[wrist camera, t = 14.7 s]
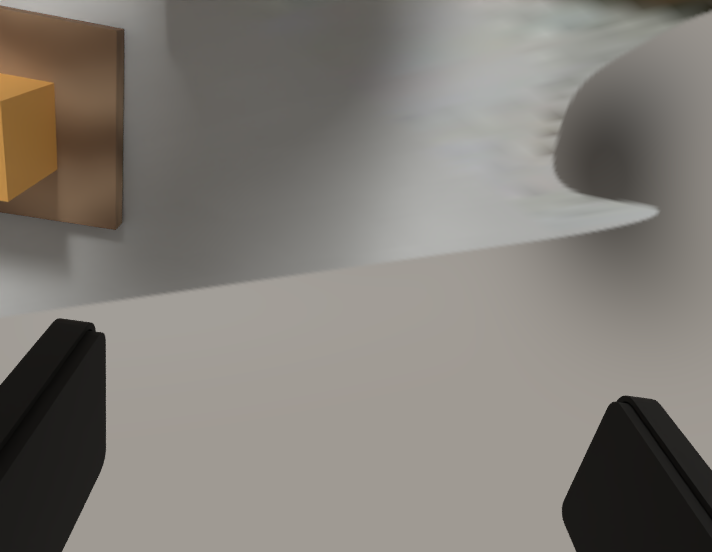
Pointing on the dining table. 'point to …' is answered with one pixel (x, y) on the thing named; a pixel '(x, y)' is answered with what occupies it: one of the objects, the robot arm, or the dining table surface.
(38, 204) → the walnut board
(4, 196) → the plain orange cube
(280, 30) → the dining table surface
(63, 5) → the dining table surface
